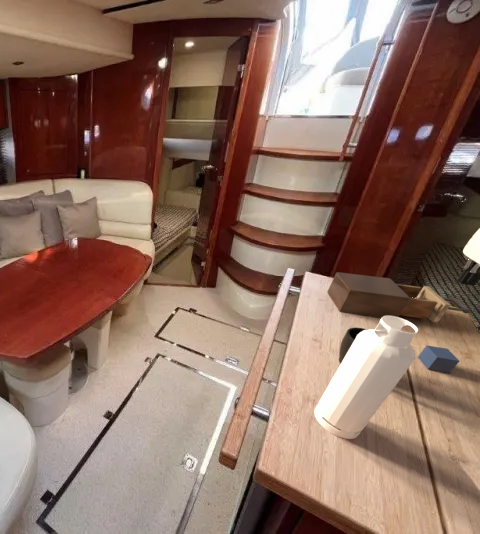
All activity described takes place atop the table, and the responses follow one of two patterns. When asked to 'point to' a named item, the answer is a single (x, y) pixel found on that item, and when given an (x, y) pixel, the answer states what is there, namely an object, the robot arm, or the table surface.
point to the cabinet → (367, 295)
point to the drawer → (428, 303)
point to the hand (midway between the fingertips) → (465, 283)
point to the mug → (348, 341)
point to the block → (438, 359)
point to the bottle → (366, 377)
